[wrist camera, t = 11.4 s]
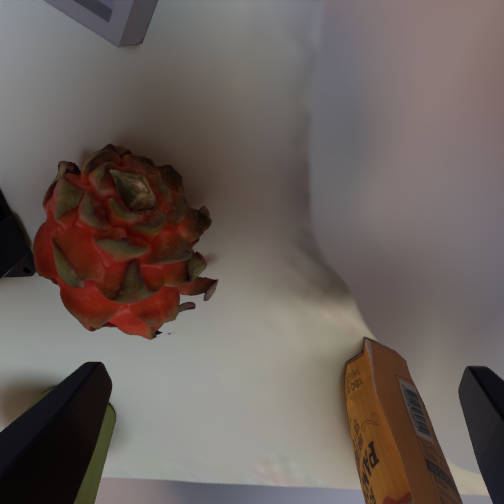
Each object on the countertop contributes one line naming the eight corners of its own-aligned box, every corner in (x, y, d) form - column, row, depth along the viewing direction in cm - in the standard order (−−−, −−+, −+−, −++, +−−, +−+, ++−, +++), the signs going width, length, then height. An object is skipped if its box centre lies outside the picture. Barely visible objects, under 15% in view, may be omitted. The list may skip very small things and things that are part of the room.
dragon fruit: (157, 100, 20) (181, 260, 28) (-21, 131, 16) (64, 303, 24) (234, 165, 15) (236, 340, 23) (-5, 232, 11) (97, 410, 19)
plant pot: (109, 360, 30) (28, 518, 20) (157, 440, 36) (113, 590, 26) (-14, 371, 32) (-139, 520, 22) (52, 445, 38) (-24, 587, 28)
